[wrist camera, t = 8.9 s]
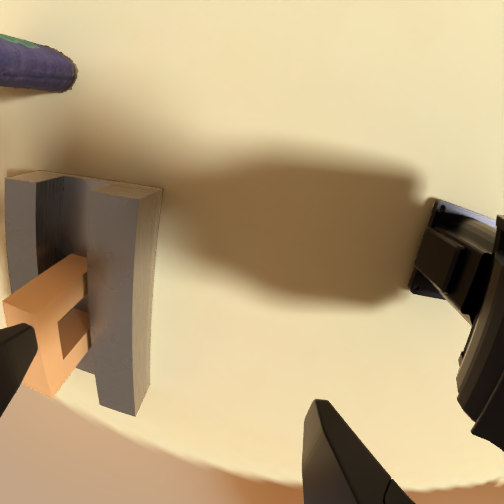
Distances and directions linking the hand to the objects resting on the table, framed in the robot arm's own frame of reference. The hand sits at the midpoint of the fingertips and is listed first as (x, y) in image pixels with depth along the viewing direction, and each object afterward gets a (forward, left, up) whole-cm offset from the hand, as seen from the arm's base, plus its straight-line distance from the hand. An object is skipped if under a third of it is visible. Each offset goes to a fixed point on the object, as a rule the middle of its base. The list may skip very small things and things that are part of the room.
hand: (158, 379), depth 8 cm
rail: (+9, +5, -12) cm, 16 cm away
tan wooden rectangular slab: (+9, +5, -11) cm, 15 cm away
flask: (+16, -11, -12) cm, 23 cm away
